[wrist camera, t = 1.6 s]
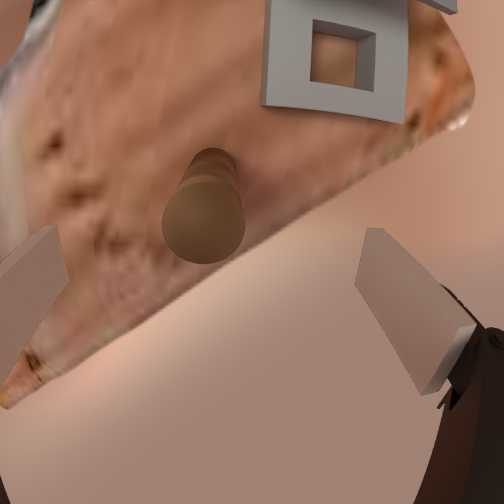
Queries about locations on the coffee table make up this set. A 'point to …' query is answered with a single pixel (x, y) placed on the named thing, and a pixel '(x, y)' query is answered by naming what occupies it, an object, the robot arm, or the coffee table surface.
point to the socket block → (367, 63)
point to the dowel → (205, 210)
